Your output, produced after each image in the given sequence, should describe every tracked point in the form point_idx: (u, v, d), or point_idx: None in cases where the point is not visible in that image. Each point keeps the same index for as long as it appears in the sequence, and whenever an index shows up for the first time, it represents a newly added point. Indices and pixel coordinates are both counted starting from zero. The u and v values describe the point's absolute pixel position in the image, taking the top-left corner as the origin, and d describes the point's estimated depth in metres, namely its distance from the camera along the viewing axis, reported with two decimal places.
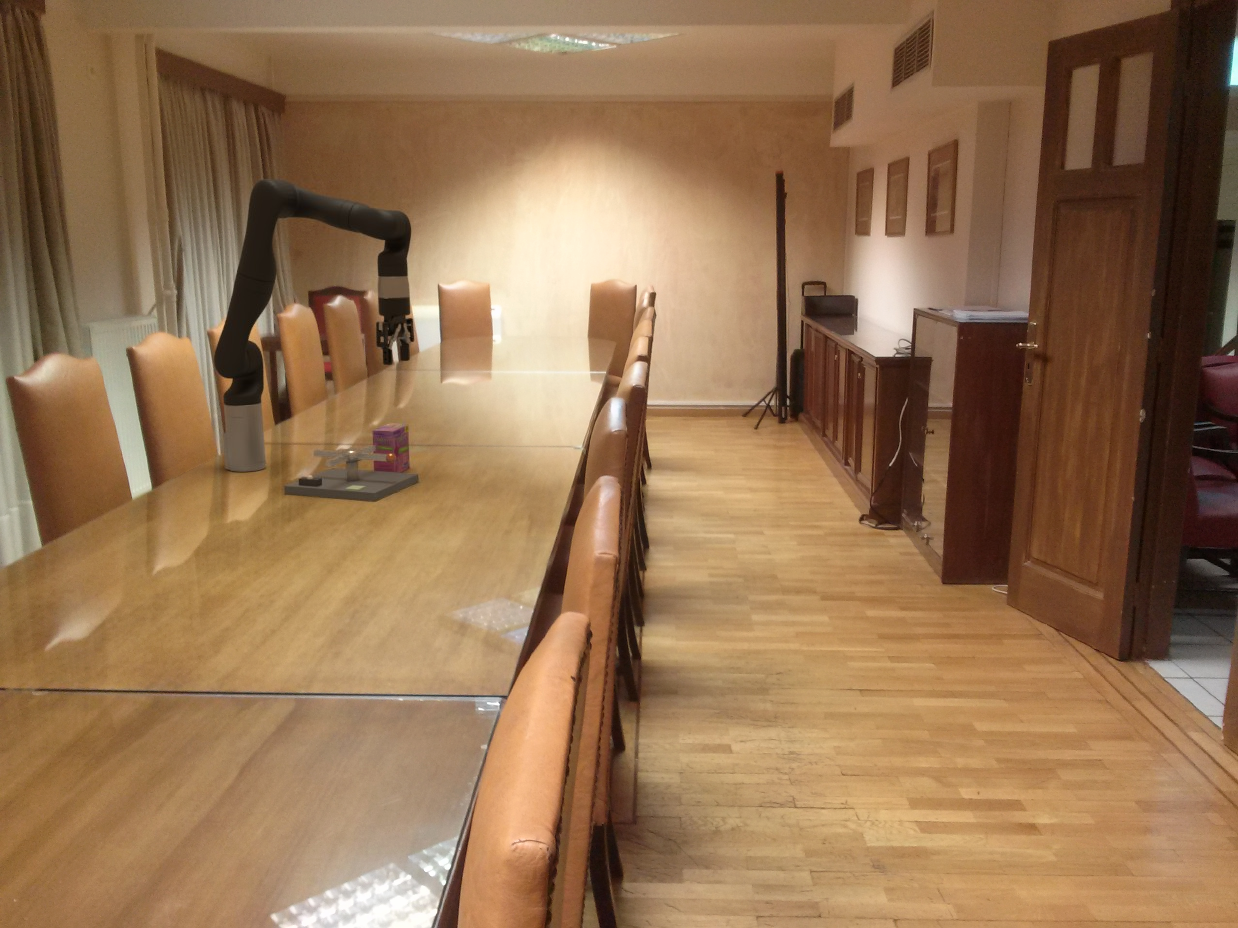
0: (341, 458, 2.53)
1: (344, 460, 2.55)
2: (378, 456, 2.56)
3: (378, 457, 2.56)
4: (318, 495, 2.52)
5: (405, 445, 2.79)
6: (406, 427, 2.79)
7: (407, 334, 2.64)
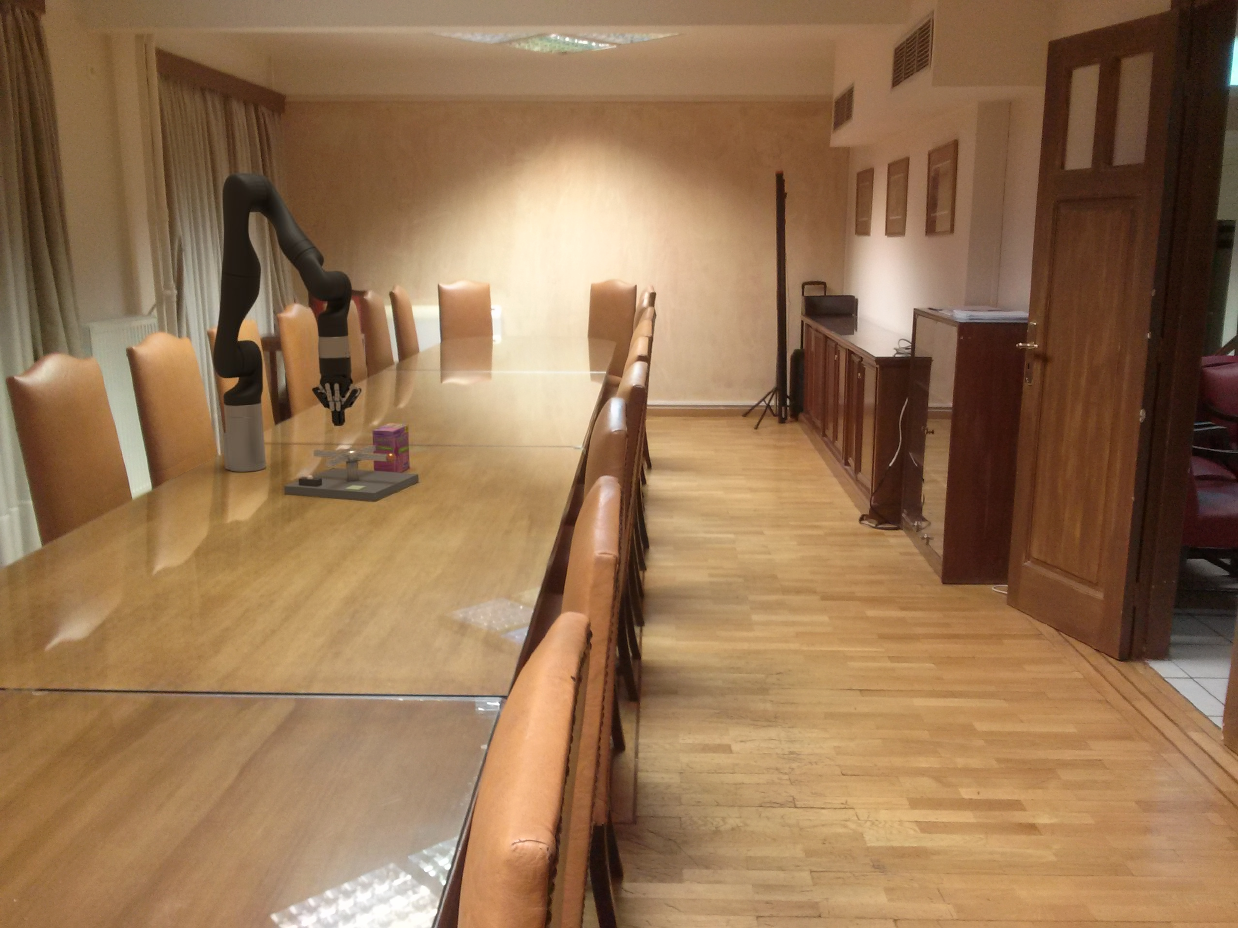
0: (341, 458, 2.53)
1: (344, 460, 2.55)
2: (378, 456, 2.56)
3: (378, 457, 2.56)
4: (318, 495, 2.52)
5: (405, 445, 2.79)
6: (406, 427, 2.79)
7: None
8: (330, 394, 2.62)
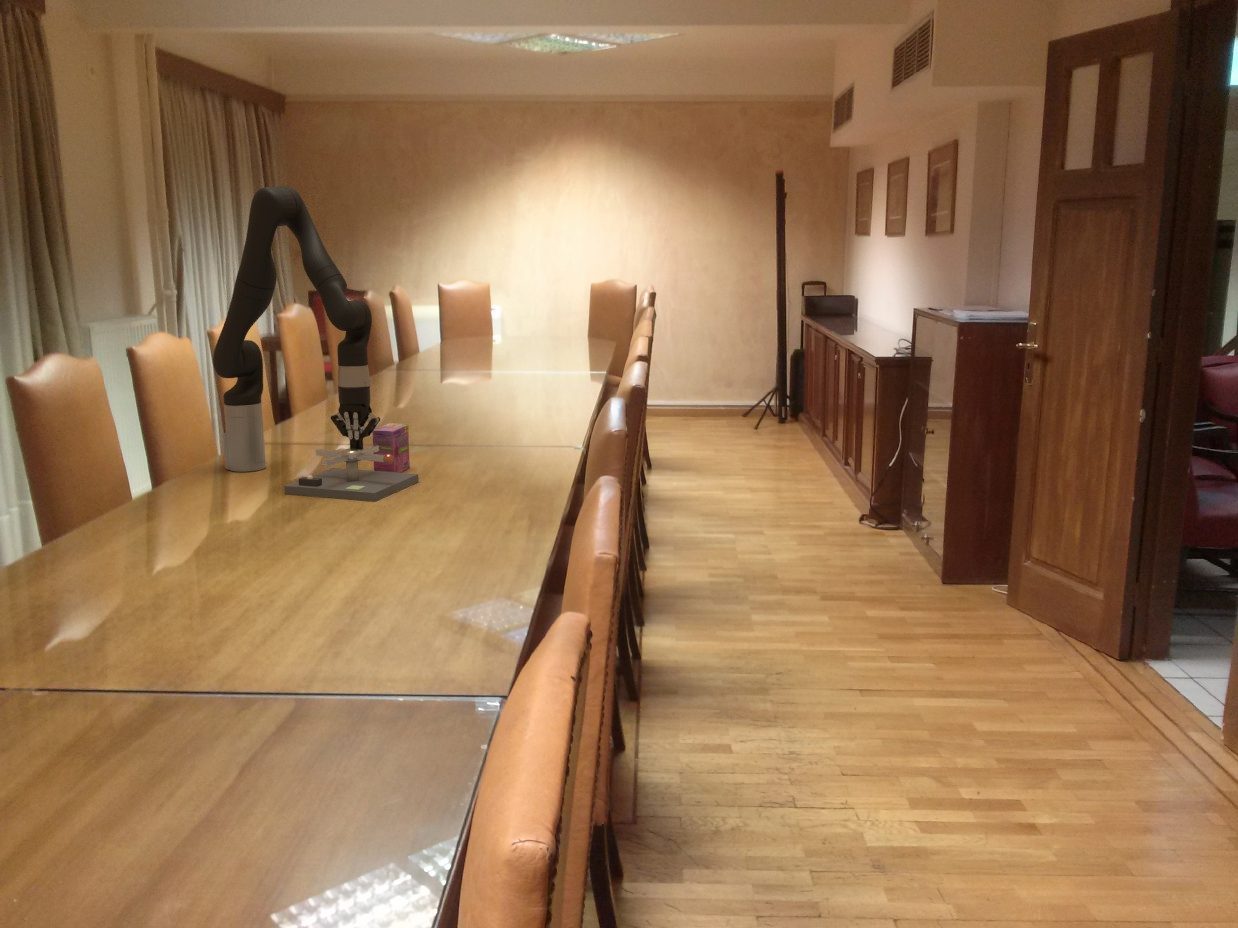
0: (339, 458, 2.54)
1: (342, 460, 2.55)
2: (376, 457, 2.55)
3: (375, 458, 2.55)
4: (318, 495, 2.52)
5: (405, 445, 2.79)
6: (406, 427, 2.79)
7: None
8: (349, 423, 2.62)
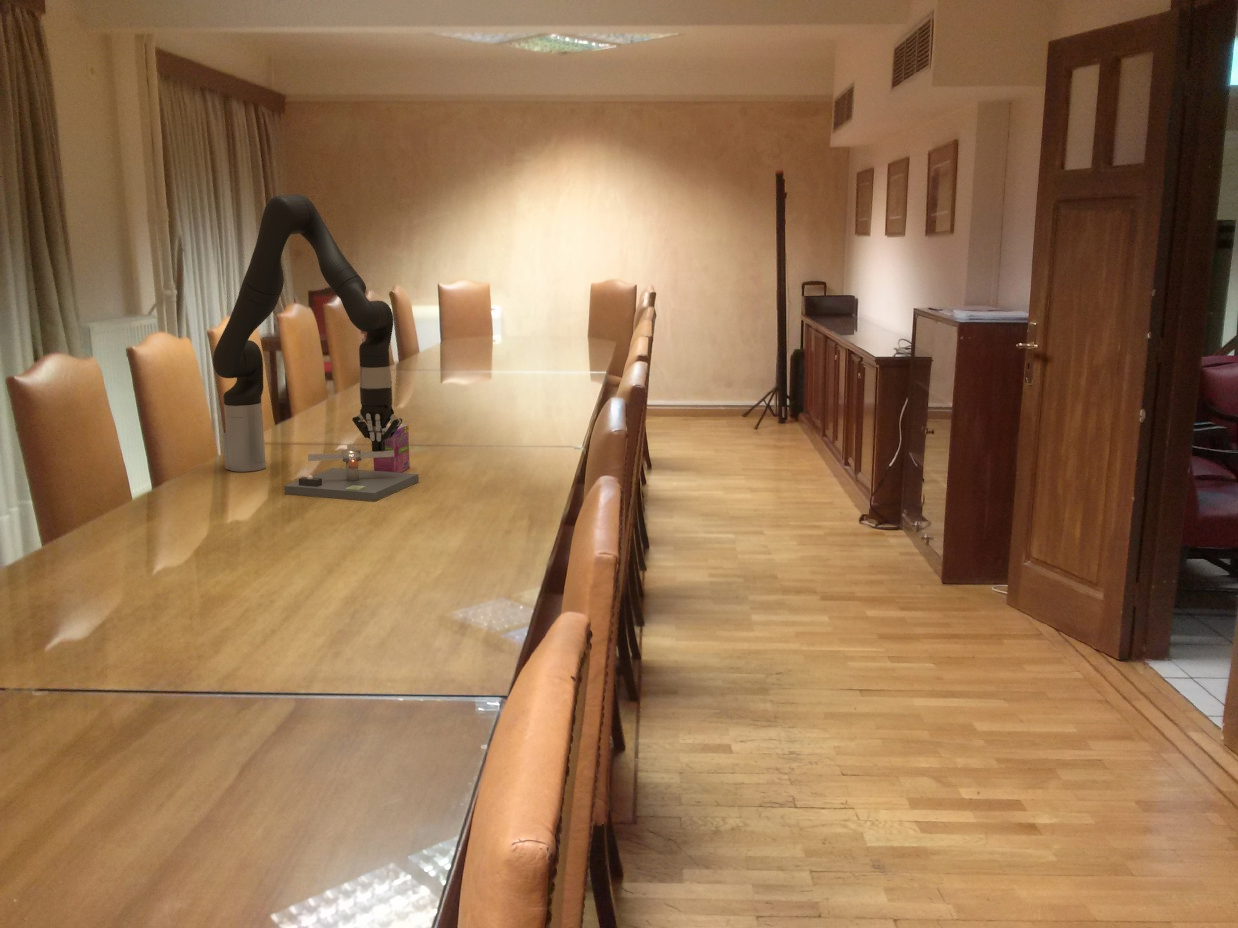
0: (327, 455, 2.57)
1: (332, 458, 2.57)
2: (349, 460, 2.51)
3: None
4: (318, 495, 2.52)
5: (405, 445, 2.79)
6: (406, 427, 2.79)
7: None
8: (371, 424, 2.60)
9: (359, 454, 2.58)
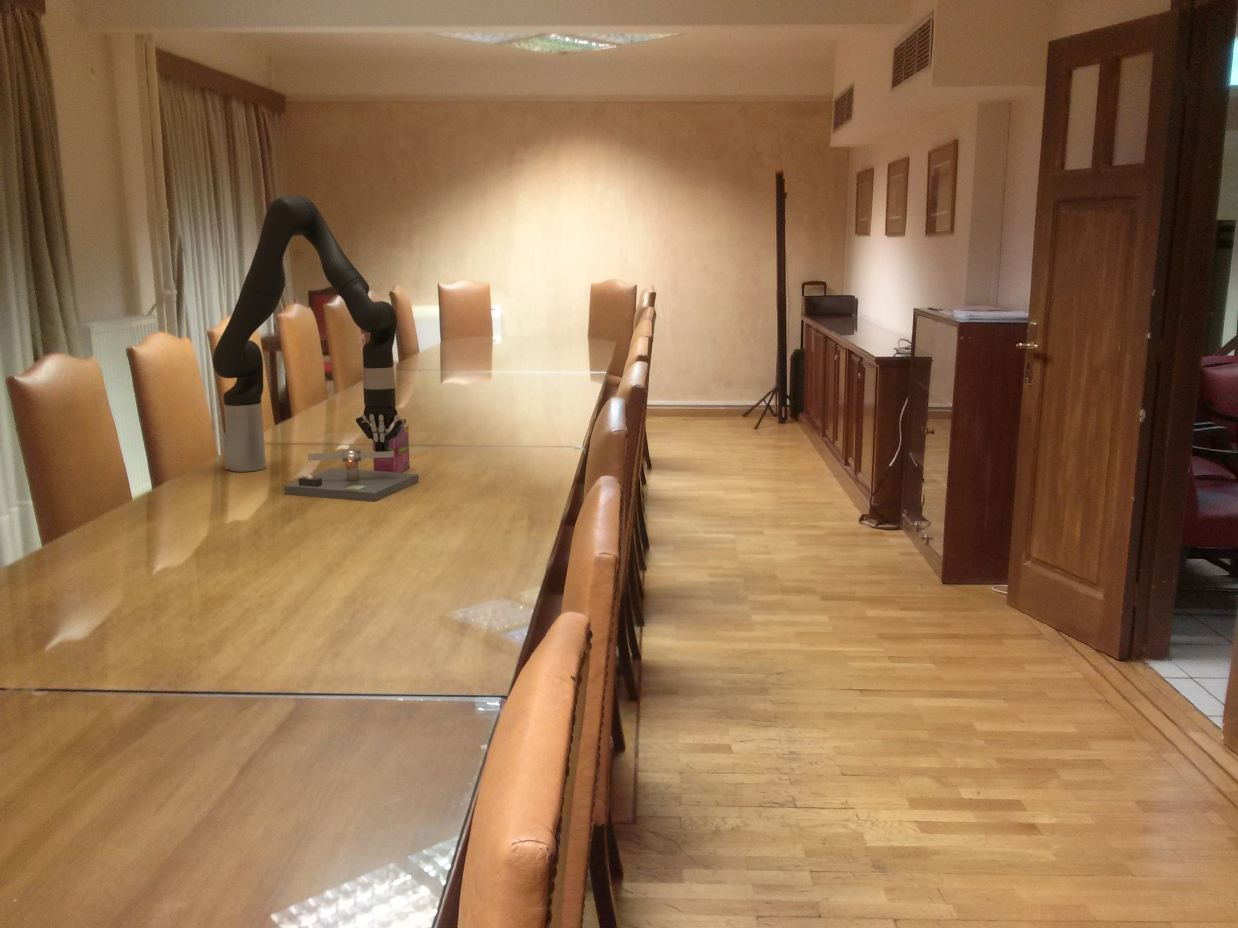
0: (327, 455, 2.57)
1: (332, 458, 2.57)
2: None
3: None
4: (318, 495, 2.52)
5: (405, 445, 2.79)
6: (406, 427, 2.79)
7: None
8: (374, 425, 2.60)
9: (359, 454, 2.58)
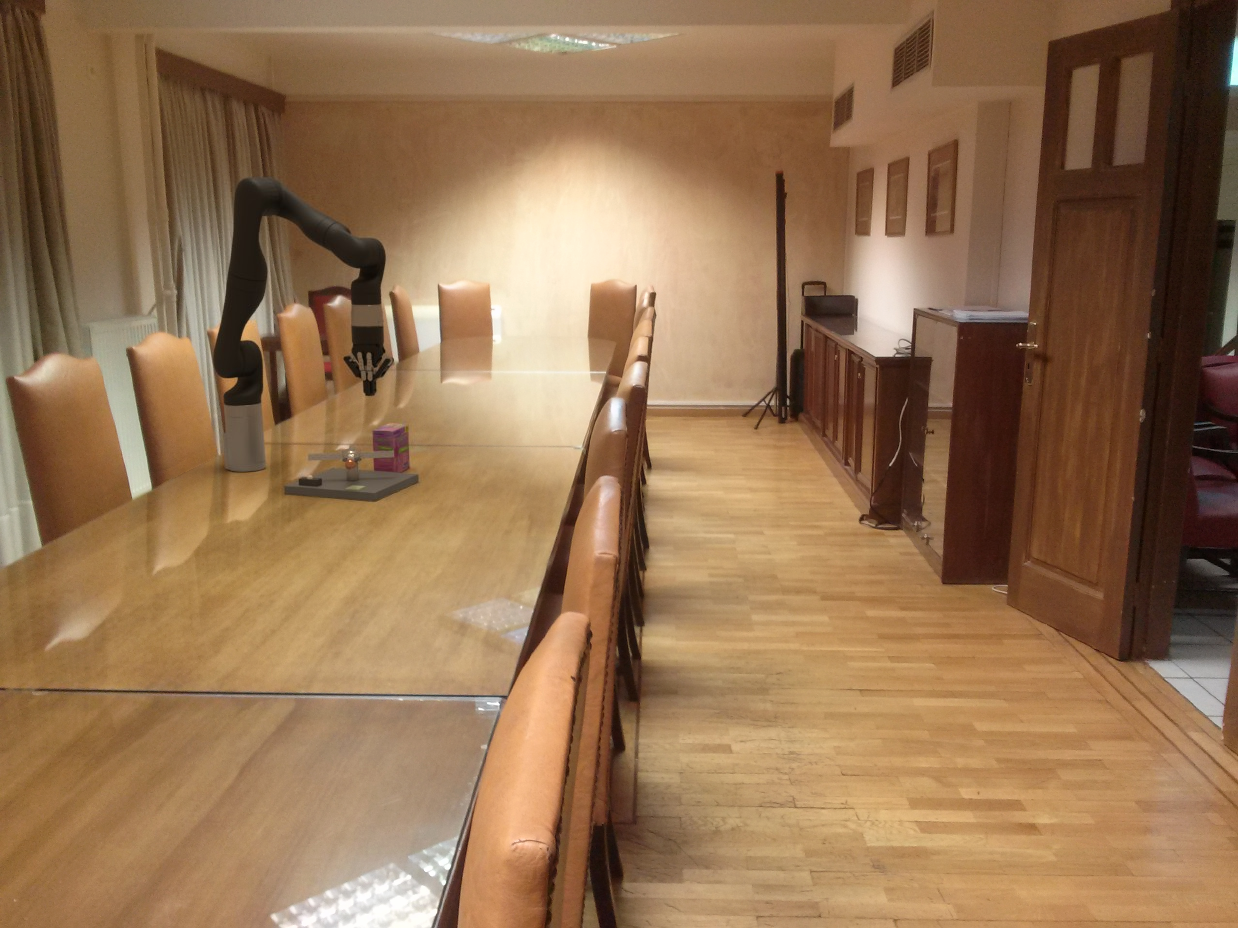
0: (327, 455, 2.57)
1: (332, 458, 2.57)
2: None
3: None
4: (318, 495, 2.52)
5: (405, 445, 2.79)
6: (406, 427, 2.79)
7: None
8: (362, 363, 2.57)
9: (359, 454, 2.58)
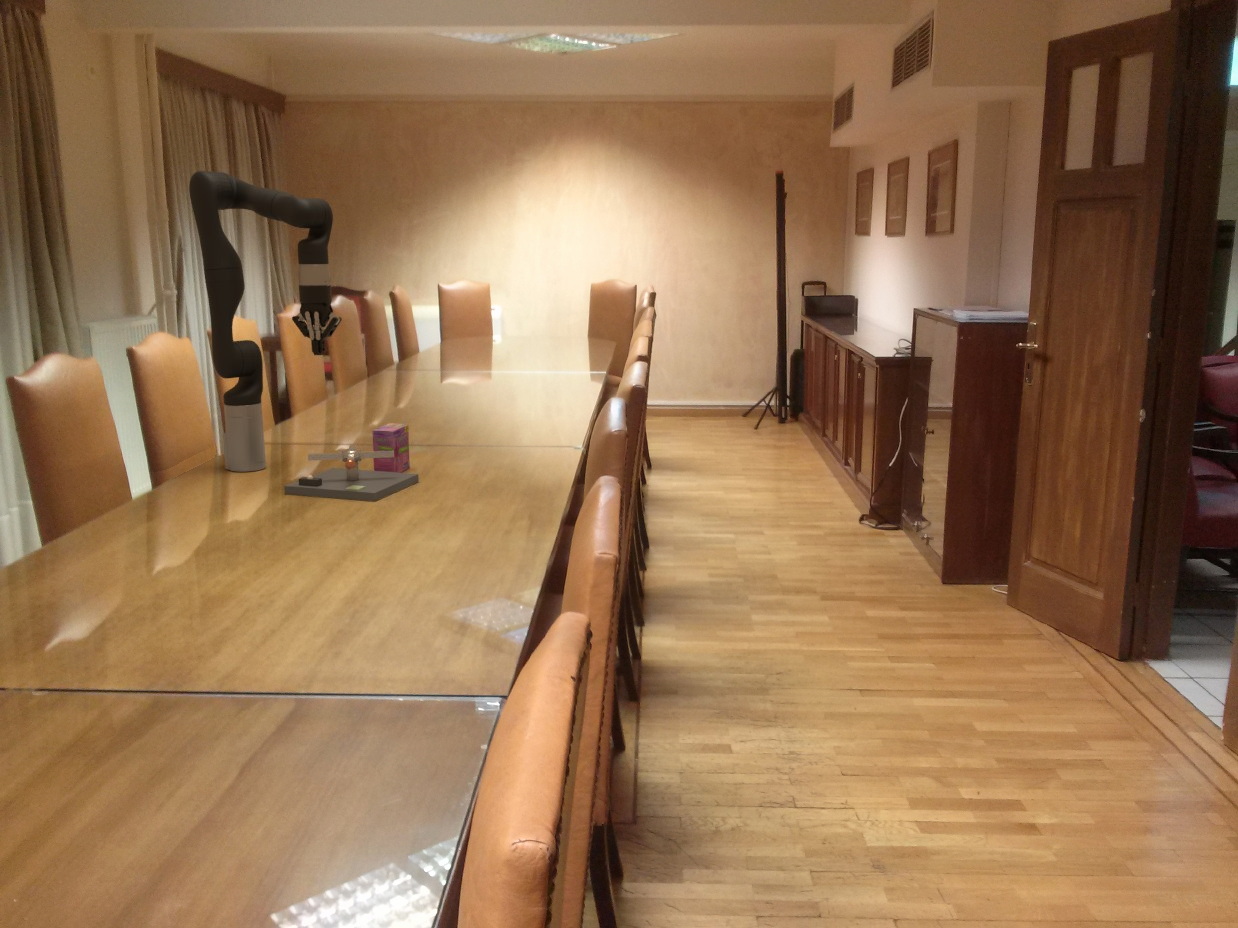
0: (327, 455, 2.57)
1: (332, 458, 2.57)
2: None
3: None
4: (318, 495, 2.52)
5: (405, 445, 2.79)
6: (406, 427, 2.79)
7: None
8: (310, 323, 2.61)
9: (359, 454, 2.58)
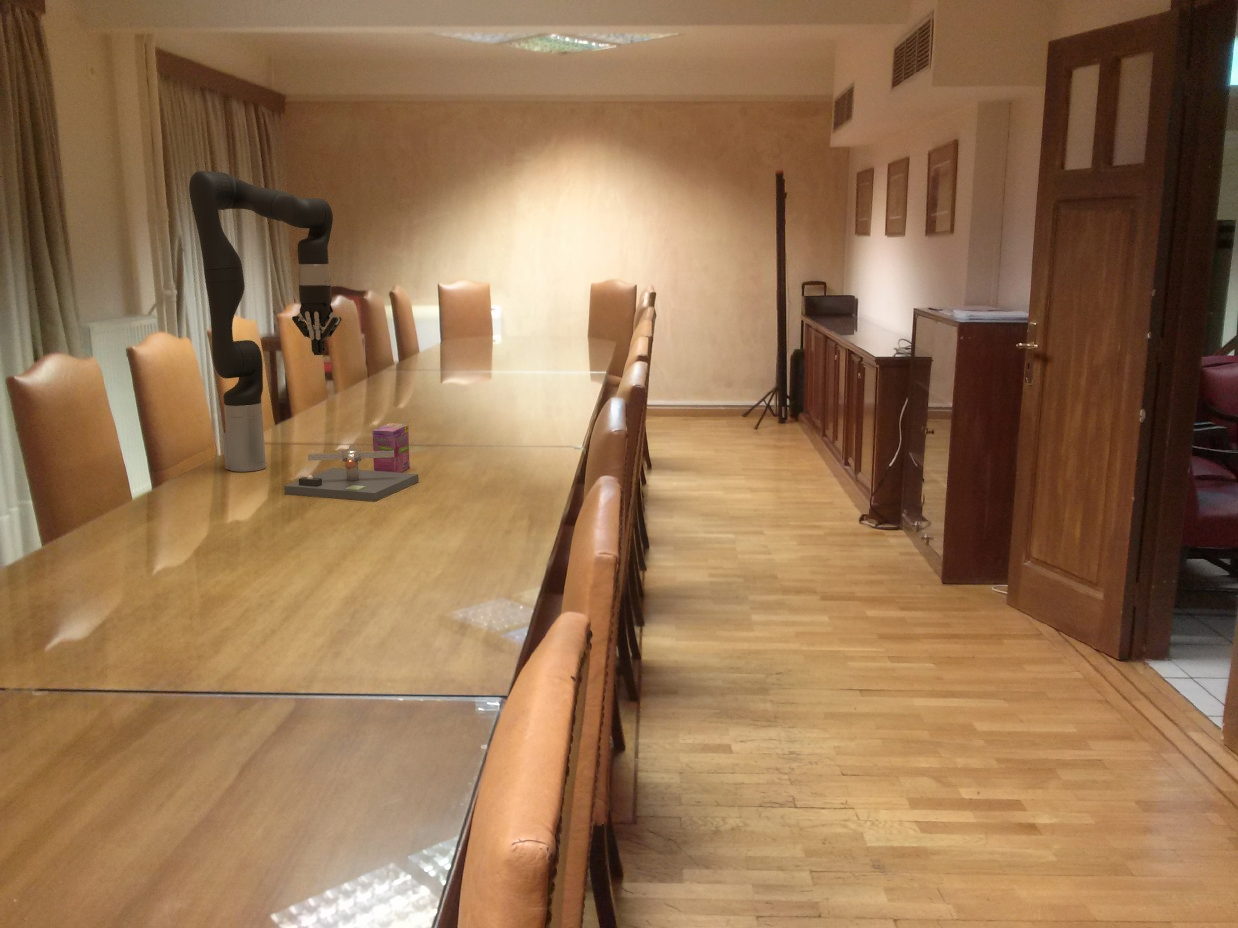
0: (327, 455, 2.57)
1: (332, 458, 2.57)
2: None
3: None
4: (318, 495, 2.52)
5: (405, 445, 2.79)
6: (406, 427, 2.79)
7: None
8: (310, 323, 2.61)
9: (359, 454, 2.58)
